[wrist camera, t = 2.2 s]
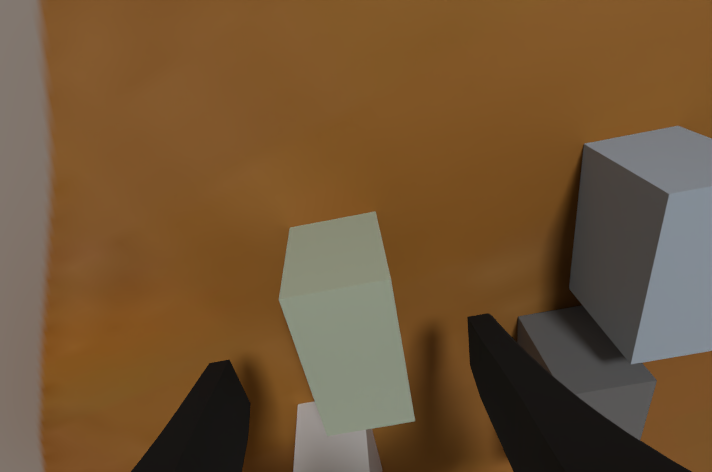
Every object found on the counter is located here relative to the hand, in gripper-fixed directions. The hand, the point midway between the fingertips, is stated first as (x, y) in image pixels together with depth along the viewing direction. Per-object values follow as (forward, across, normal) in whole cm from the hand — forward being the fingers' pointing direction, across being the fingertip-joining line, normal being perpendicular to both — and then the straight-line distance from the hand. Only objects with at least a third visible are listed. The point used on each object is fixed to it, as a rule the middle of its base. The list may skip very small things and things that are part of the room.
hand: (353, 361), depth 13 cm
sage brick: (+4, 0, 0) cm, 4 cm away
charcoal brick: (+4, -8, +6) cm, 11 cm away
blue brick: (+4, -10, -1) cm, 11 cm away
